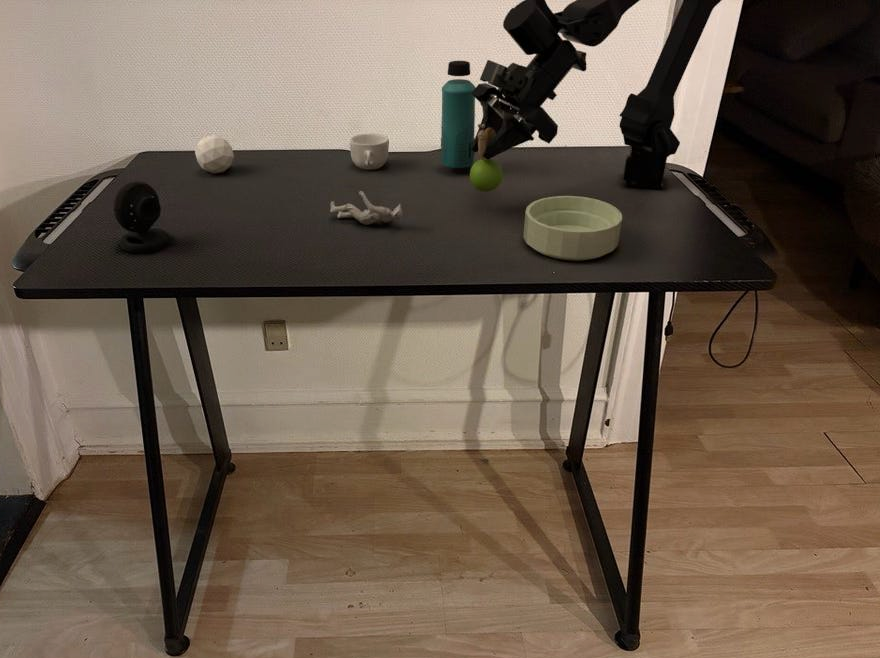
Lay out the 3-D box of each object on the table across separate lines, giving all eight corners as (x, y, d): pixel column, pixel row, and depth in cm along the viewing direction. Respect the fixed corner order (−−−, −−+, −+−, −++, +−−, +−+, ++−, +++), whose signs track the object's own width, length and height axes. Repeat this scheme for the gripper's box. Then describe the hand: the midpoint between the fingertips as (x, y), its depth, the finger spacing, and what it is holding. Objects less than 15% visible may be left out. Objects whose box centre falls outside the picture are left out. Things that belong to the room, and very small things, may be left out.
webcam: (142, 258, 110) (128, 195, 104) (109, 248, 113) (93, 186, 108) (180, 240, 115) (168, 179, 110) (148, 230, 119) (135, 171, 113)
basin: (616, 229, 116) (621, 199, 114) (617, 267, 105) (622, 235, 102) (527, 222, 119) (530, 192, 117) (518, 258, 108) (521, 227, 105)
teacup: (351, 160, 147) (350, 133, 144) (389, 159, 147) (389, 132, 144) (349, 176, 139) (347, 148, 136) (389, 176, 139) (388, 148, 136)
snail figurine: (462, 196, 120) (464, 123, 113) (475, 183, 125) (477, 112, 118) (494, 200, 118) (497, 126, 111) (506, 187, 123) (510, 115, 116)
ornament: (196, 179, 139) (180, 140, 138) (219, 180, 146) (204, 143, 145) (224, 162, 136) (207, 122, 136) (246, 165, 143) (230, 127, 142)
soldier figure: (348, 215, 125) (411, 201, 120) (348, 241, 124) (411, 228, 119) (325, 196, 118) (390, 180, 113) (324, 223, 117) (390, 208, 112)
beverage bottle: (471, 176, 138) (476, 65, 127) (437, 175, 139) (438, 64, 128) (475, 165, 143) (480, 58, 132) (442, 164, 144) (444, 57, 133)
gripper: (484, 30, 117) (422, 109, 120) (547, 50, 103) (475, 139, 105) (523, 76, 124) (464, 149, 126) (587, 100, 109) (519, 183, 112)
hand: (478, 154), depth 117 cm, fingers closed on snail figurine, 4 cm apart
